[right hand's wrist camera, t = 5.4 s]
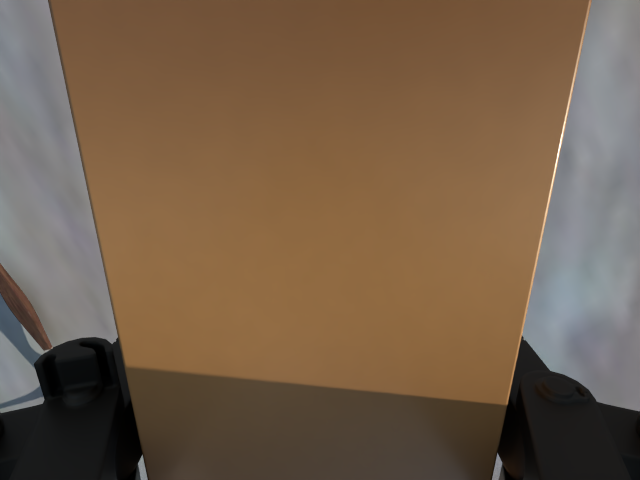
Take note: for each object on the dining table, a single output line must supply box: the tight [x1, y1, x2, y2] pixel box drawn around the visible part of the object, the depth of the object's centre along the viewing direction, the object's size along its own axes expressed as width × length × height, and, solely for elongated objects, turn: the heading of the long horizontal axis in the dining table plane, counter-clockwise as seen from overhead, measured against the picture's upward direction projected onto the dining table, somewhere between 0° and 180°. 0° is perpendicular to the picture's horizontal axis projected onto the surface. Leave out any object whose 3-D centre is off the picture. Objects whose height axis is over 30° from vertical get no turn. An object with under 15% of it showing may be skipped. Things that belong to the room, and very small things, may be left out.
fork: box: [0, 264, 53, 352], centre depth 26 cm, size 3×16×2 cm, turn 17°
